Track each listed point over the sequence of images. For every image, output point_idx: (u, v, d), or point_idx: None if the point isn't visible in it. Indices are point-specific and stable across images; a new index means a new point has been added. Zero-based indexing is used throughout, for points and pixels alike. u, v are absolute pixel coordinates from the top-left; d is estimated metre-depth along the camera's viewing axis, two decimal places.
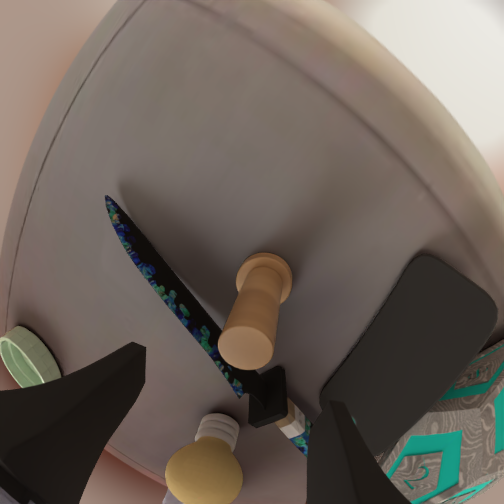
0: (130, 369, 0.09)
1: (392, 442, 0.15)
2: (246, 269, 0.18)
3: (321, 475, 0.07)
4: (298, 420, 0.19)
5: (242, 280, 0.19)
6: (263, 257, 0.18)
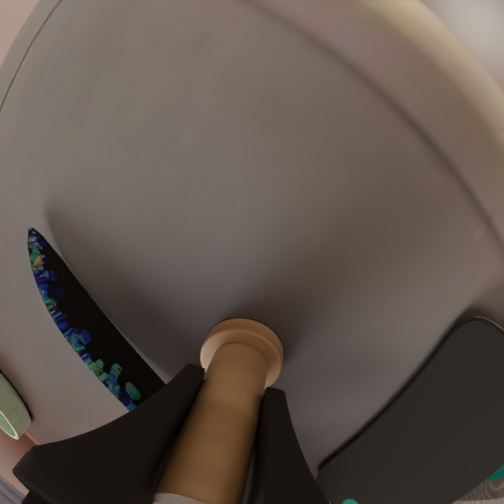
0: (193, 394, 0.09)
1: None
2: (213, 345, 0.12)
3: (252, 464, 0.07)
4: None
5: (208, 358, 0.12)
6: (237, 330, 0.11)
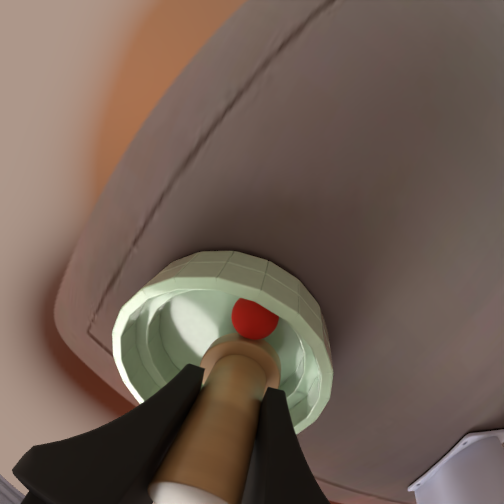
0: (193, 394, 0.09)
1: None
2: (213, 356, 0.12)
3: (252, 464, 0.07)
4: None
5: (208, 370, 0.12)
6: (237, 341, 0.12)
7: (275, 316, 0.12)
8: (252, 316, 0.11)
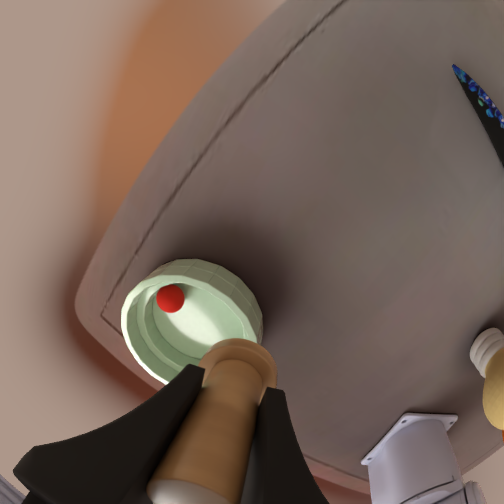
0: (193, 394, 0.09)
1: None
2: (210, 361, 0.12)
3: (251, 464, 0.07)
4: None
5: (205, 375, 0.12)
6: (234, 346, 0.12)
7: None
8: None
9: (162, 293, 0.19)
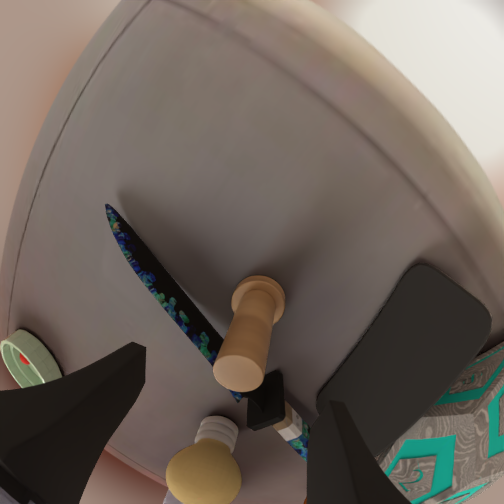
0: (130, 369, 0.09)
1: (386, 446, 0.15)
2: (241, 291, 0.19)
3: (321, 475, 0.07)
4: (295, 423, 0.20)
5: (237, 301, 0.19)
6: (257, 281, 0.19)
7: None
8: None
9: (25, 362, 0.25)
